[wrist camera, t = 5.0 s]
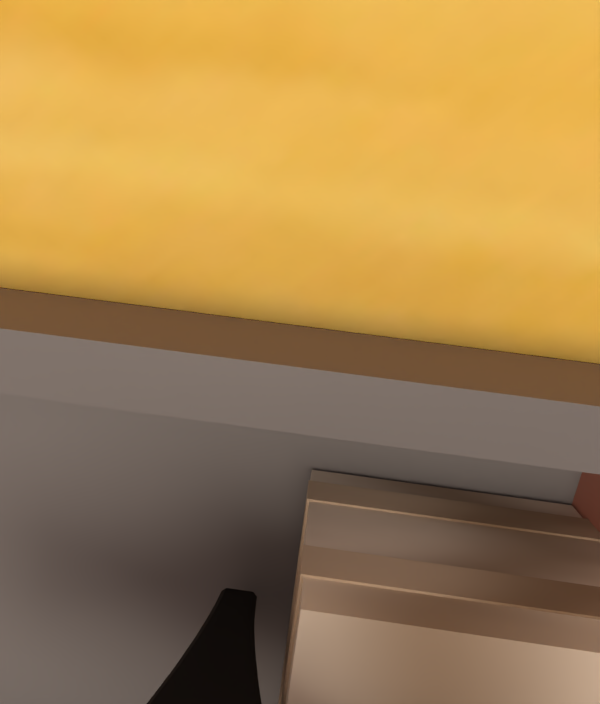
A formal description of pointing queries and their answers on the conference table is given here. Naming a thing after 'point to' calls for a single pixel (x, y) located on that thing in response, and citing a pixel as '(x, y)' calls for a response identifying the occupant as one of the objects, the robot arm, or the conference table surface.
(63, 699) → the bay
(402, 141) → the conference table surface
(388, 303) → the conference table surface
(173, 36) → the conference table surface
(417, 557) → the tan layered slab
